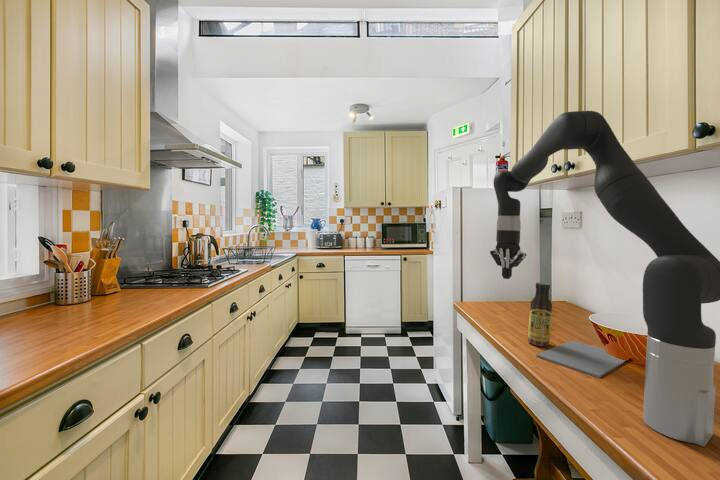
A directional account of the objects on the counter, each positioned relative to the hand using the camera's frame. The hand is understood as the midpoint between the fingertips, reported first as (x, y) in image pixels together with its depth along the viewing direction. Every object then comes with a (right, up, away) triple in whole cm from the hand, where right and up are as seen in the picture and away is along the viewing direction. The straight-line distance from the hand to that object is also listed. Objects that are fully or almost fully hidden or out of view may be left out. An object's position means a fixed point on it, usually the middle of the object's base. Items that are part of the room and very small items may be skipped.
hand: (506, 278), depth 117 cm
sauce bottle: (+7, -20, -9) cm, 23 cm away
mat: (+14, -21, -20) cm, 32 cm away
